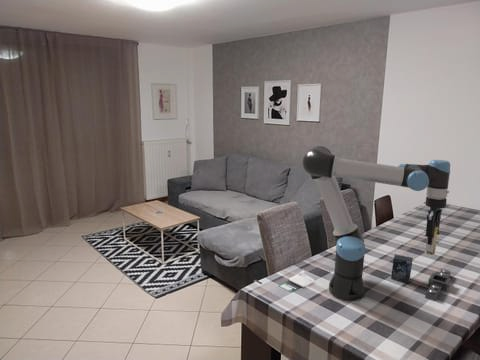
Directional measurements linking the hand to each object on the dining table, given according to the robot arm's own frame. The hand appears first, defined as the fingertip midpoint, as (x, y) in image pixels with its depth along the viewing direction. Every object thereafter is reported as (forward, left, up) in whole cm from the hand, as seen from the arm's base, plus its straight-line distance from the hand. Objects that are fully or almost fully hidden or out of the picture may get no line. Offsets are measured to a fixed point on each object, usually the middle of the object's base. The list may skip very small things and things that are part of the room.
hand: (430, 249), depth 149 cm
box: (+4, +11, -20) cm, 23 cm away
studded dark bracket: (+9, -4, -19) cm, 22 cm away
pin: (0, 0, -2) cm, 2 cm away
